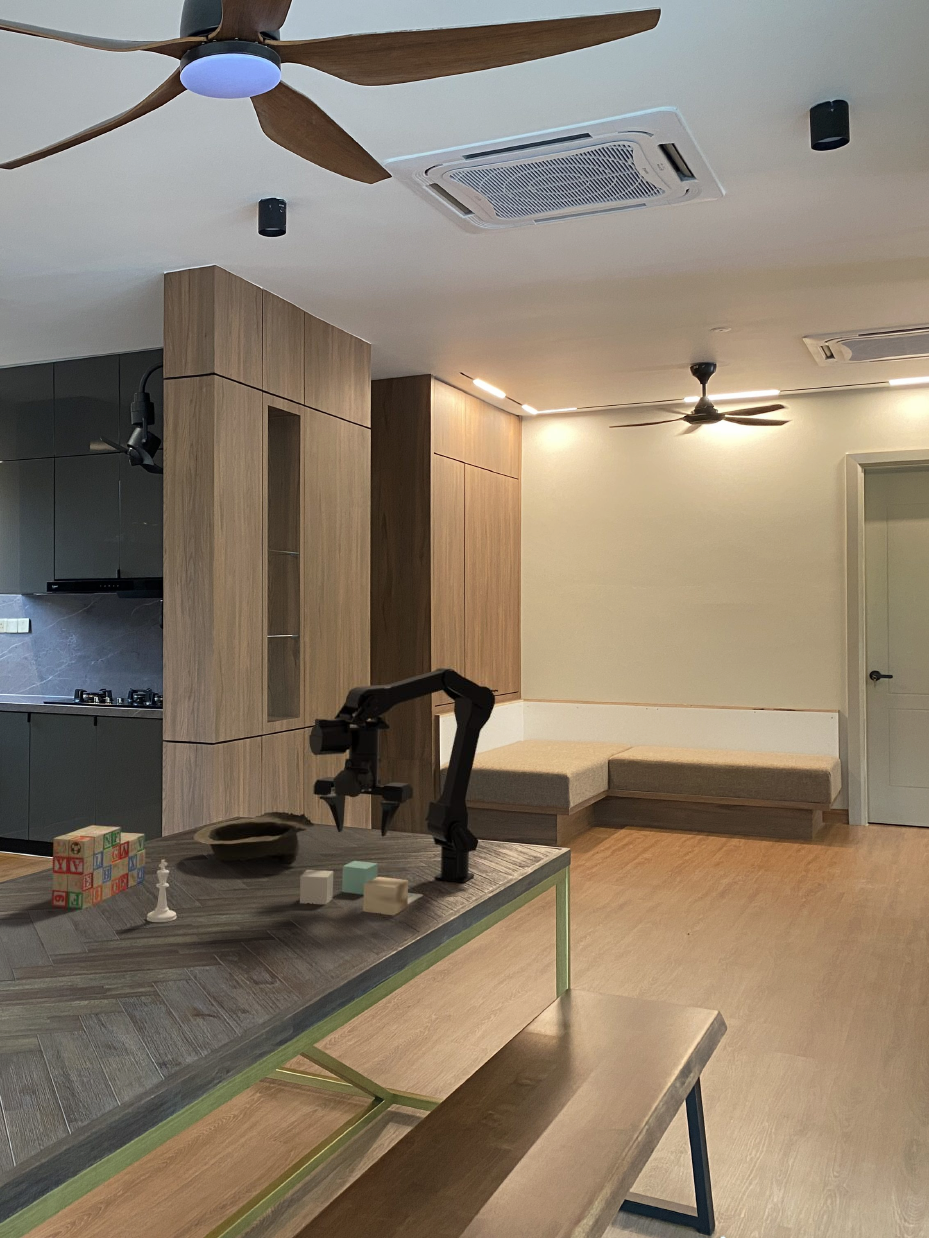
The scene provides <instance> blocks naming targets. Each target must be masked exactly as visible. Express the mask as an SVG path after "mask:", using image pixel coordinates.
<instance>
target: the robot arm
mask: <svg viewBox="0 0 929 1238" xmlns="http://www.w3.org/2000/svg"><path fill="white" fill-rule="evenodd" d="M441 691H442V692H443V694H445V696H447V697H448V698H449V699H451V700H452V701H454V705H453V714H454V717H455V718H454V719H455V722H456V730H455V734H454V739H453V744H452V747H451V752H450V757H449V760H448V761H449V763H448V766H447V770H446V775H445V780H444V785H443V790H442V793H441V794H440V797H439V798H438V799H437V801H429V804H428V813H427V816H426V818H425V822H427V825H426V830H427V831H428V833H429V834H430V835H431V837H432V838H433V842H434V845H435V846H440V873H438V874H436V875H435V876H433V877H434V880H437V881H438V880H439V881H445V882H446V881H449V882H455V883H456V882H457V883H465V882H467V881H469V880H470V879H471V878H473V877H474V876H475V873H472V872H469V871H470V866H469V865H470V852H474V851H476V850H477V847H478V845H479V839H478V838H477V837H476V836H475V835H474V834H473V832H471V830H469V817H470V815H469V811H468V806H467V801H466V800H467V793H468V790H469V785H470V780H471V775H472V772H473V767H474V761H475V757H476V752H477V747H478V743H479V738H480V734H481V731H482V729H483V728H484V727H485V725H486V724H487V723H488V721H490V718H491V715H492V713H493V711H494V708H495V704H496V696H495V694H494V692H493V690H492V689H491V688H490V687H488V686H485V685H484V686H483V685H479V684H478V683H476V682H474V681H472V680H470V679H469V678H467V677H464V676H463V675H461V674H460V673H458V672H457V671H455V670H454V669H453V668H447V667H446V668H445V667H439V668H436V669H434V670H433V671H430V672H425V673H423V674H419V675H417V676H412V677H409V678H406V679H402V680H400V681H395V682H392V683H389V684H382V685H381V684H379V685H377V684H376V685H365V686H356V687H353V688H351V689H350V690H349V691H348V693H347V695H346V699H345V702H344V703H343V705H342V706H341V707H340V710H339V711H338V712H337V713H336V716H335V717H334V718H333V719H332V718H331V719H326V718H315V719H314V725H313V726H312V728H311V731H310V734H309V735H308V736H309V737H308V738H309V739H308V740H309V742H308V743H309V747H310V751H311V753H312V754H313V755H314V756H325V755H326V756H328V755H330V756H331V755H344V754H345V753H346V752H347V751H348V758H345V761H344V768H343V769H342V770H340V771H339V772H338V773H337V774H336V775H335V776H334V777H333V776H332V777H331V776H326V777H321V778H318V779H316V780H315V781H314V784H313V788H312V789H313V790H312V791H313V792H312V793H313V795H316V796H318V795H319V800H323V801H324V802H325V803H326V804H327V805H328V807H329V809H330V812H331V814H332V817H333V821H334V823H335V827H336V830H337V832H338V833H342V832H343V831H344V829H343V828H344V823H345V808H346V796H347V797H350V798H357V797H358V796H360V794H361V795H368V796H369V795H371V796H381V797H382V798H383V801H381V802H380V803H379V804H380V805H381V809H382V810H381V811H382V812H381V824H380V826H381V827H380V832H381V834H380V835H381V837H383V838H384V837H385V836H386V835H387V833H388V830H389V828H390V827H391V823H392V822H393V819H394V817H395V815H396V814H397V811H398V809H399V807H400V806H401V804H404V803H406V802H407V801H408V800H410V799H412V798H413V792H414V791H413V787H412V785H411V784H410V783H406V782H390V783H387V784H385V785H380V784H381V782H382V781H381V778H380V777H379V764H381V763H382V757H381V756H379V751H380V750H379V743H380V730H389V729H390V725H389V724H388V723H387V722H386V721H385V720H384V719H383V717H382V715H384V714H386V713H388V712H389V711H391V710H392V709H393V708H394V707H395V706H397V705H400V704H402V703H405V702H409V701H412V700H415V699H418V698H421V697H425V696H427V695H431V694H435V693H438V692H441Z"/></svg>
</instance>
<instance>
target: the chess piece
mask: <svg viewBox="0 0 929 1238" xmlns="http://www.w3.org/2000/svg"><path fill="white" fill-rule="evenodd" d="M160 861H161V863H159V864H158V867H159V868H160V870H159V869H158V870H157V871H156V875H157V878H158V882H159V883H157V884H156V885H155V887H156V888H158V889H159V892H158V899H157V905H156V907H155V908H154V910H152V911H151V912H149V913H148V914H147V916H146V921H149V922H152V923H168V922H173V921H174V920H176V919H177V913H176V912H175V910H172V909H170V908H169V907H168V904H167V894H166V893H167V892H166V888H168V887H170V885H169V883H167V880H168V876H169V873H170V870H168V869H166V866H168V862H166V859H161V860H160Z"/></svg>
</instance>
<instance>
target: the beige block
mask: <svg viewBox="0 0 929 1238" xmlns="http://www.w3.org/2000/svg"><path fill="white" fill-rule="evenodd" d="M299 879H300V880H299V881H300V882H299V884H300V885H299V886H300V887H299V888H300V889H299V904H307V903H310V905H312V903H313V905H328V904H329V903H330V901H331V900H332V899H333V898H332V897H334V894H333V893H334V871H333V870H320V869H319V870H314V869H307V870H305V871H304V872H303V873H302V874H301V875H300V878H299ZM327 903H328V904H327Z"/></svg>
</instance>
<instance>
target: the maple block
mask: <svg viewBox="0 0 929 1238" xmlns="http://www.w3.org/2000/svg"><path fill="white" fill-rule="evenodd" d="M408 893H409V880H407V879H399V878H394V877H393V878H391V877H383V876H377V878H375V879H373V880H371V881H369V882H367V883H365V884H364V895H363V908H362V911H363V912H366V913H373V914H380V913H381V915H386V916H387V915H389V916H396V915H398V913H400V912H401V911H404V910H405V909H407V908H408V905H409V904H408Z"/></svg>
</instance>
